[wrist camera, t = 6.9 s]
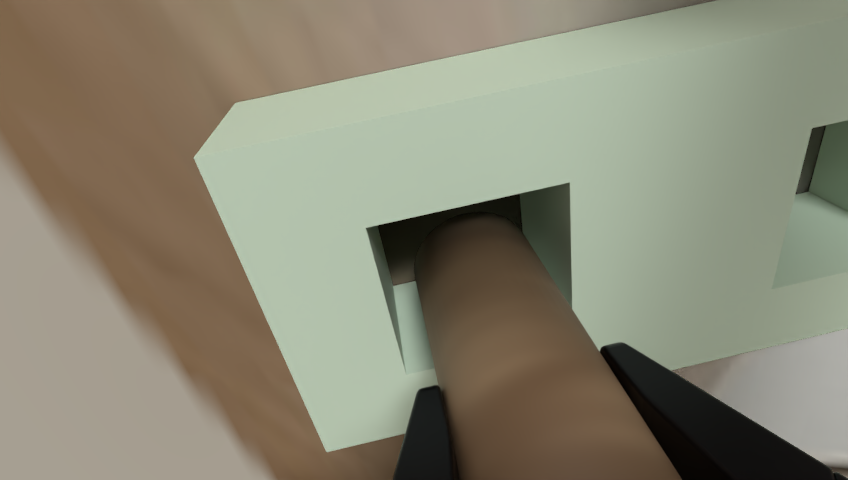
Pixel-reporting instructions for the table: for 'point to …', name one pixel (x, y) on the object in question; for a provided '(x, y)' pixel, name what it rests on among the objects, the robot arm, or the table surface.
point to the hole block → (554, 193)
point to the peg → (522, 365)
